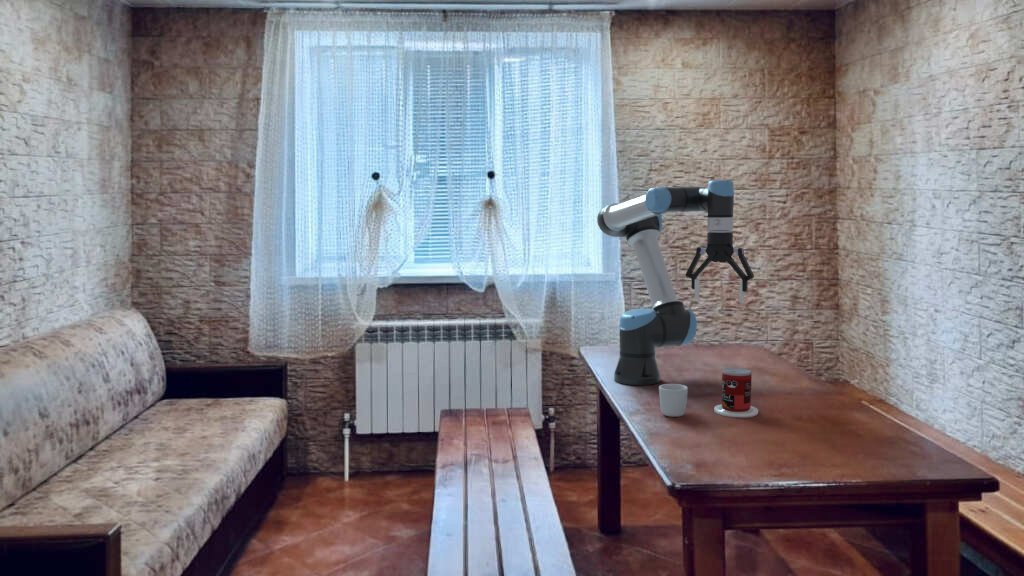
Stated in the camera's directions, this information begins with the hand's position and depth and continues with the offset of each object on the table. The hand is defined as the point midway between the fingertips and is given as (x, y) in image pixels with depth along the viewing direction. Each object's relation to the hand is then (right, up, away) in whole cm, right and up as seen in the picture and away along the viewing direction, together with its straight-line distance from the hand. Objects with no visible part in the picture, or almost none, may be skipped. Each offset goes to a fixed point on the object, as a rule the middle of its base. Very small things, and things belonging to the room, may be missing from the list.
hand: (718, 301), depth 250 cm
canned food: (0, -30, -18) cm, 35 cm away
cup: (-17, -32, -19) cm, 41 cm away
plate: (0, -31, -18) cm, 36 cm away
